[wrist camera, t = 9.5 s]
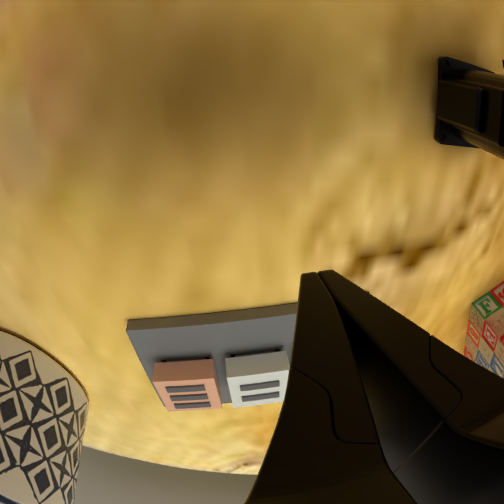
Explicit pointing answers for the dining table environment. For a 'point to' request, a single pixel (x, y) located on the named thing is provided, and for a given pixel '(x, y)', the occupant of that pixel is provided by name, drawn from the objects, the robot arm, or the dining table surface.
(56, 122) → the dining table surface
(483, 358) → the stack of blocks
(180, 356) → the board
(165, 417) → the dining table surface
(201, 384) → the slotted block
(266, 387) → the tile
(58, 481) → the planter
